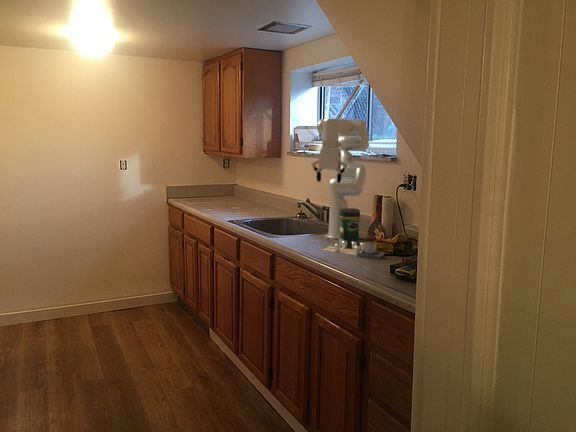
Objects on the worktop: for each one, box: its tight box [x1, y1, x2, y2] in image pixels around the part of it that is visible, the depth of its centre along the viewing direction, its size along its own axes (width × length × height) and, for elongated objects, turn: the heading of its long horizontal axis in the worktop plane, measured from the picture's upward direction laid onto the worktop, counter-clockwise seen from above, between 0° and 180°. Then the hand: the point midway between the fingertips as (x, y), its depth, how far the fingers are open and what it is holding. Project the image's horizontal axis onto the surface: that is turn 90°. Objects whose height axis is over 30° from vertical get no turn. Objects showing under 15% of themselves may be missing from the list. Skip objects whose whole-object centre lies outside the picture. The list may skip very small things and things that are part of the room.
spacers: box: [334, 241, 366, 255], centre depth 236 cm, size 11×11×4 cm
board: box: [320, 246, 361, 256], centre depth 237 cm, size 12×18×1 cm, turn 67°
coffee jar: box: [337, 207, 361, 249], centre depth 246 cm, size 10×8×19 cm
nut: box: [364, 241, 377, 255], centre depth 225 cm, size 4×5×6 cm
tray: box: [357, 250, 384, 260], centre depth 226 cm, size 9×9×2 cm
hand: (328, 181), depth 248 cm, fingers open, 9 cm apart
